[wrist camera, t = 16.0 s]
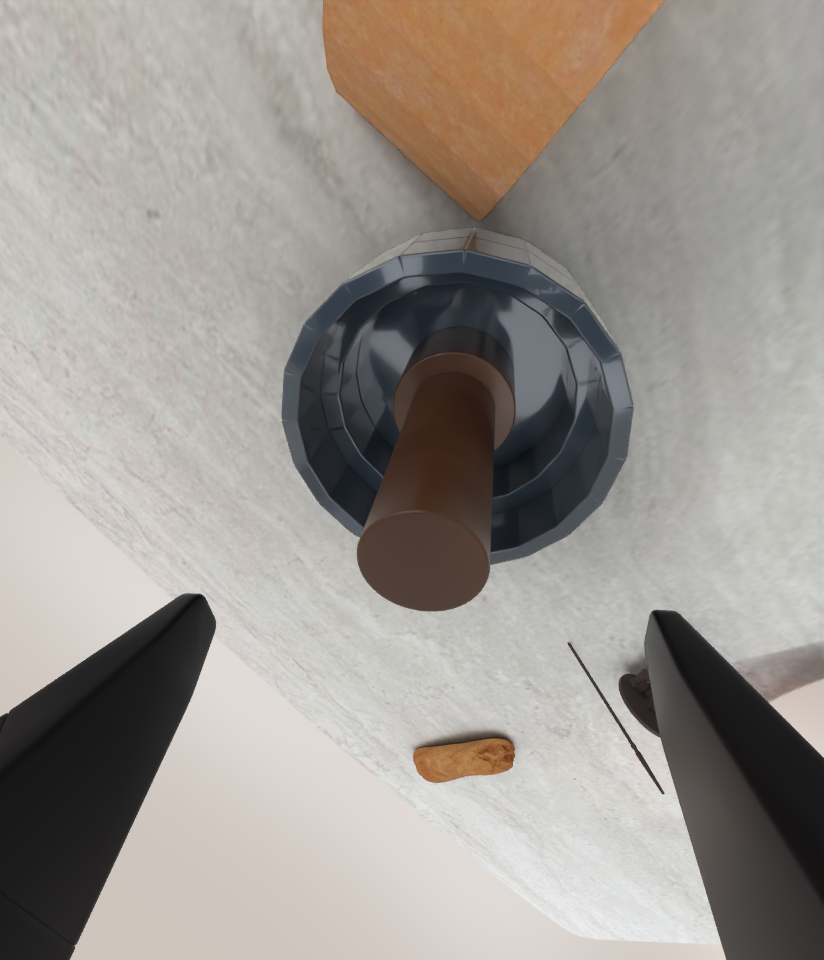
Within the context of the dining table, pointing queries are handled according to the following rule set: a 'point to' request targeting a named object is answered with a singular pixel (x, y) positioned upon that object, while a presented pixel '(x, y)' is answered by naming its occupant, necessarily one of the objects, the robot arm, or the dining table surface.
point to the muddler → (440, 473)
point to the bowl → (537, 373)
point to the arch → (474, 78)
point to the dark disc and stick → (634, 705)
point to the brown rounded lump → (464, 759)
